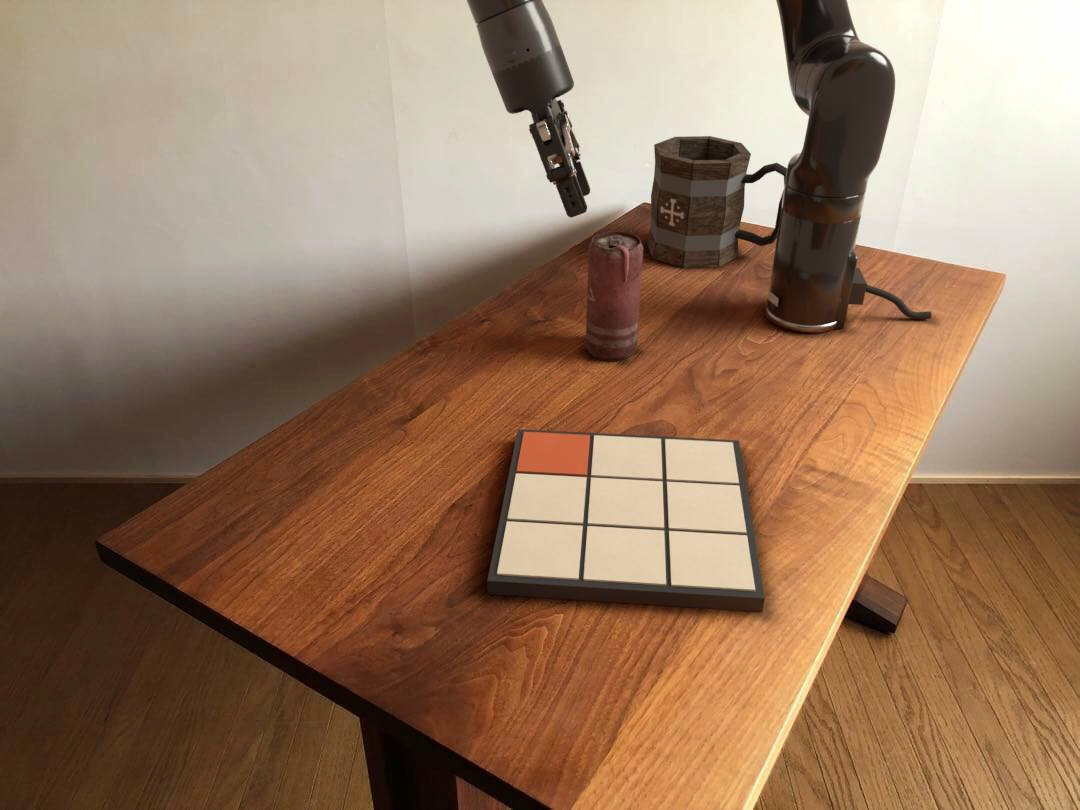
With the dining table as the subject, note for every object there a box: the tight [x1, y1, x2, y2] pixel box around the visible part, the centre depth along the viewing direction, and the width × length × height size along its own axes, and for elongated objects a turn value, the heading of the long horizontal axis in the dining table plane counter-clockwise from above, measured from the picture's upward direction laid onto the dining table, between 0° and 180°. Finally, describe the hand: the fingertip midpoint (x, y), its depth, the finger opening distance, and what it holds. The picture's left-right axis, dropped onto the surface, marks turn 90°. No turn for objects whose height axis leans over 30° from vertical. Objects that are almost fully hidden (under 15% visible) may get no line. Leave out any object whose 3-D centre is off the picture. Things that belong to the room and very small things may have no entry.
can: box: [585, 230, 644, 362], centre depth 105 cm, size 6×6×14 cm
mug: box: [646, 135, 787, 269], centre depth 130 cm, size 20×14×15 cm
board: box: [486, 428, 766, 613], centre depth 82 cm, size 22×22×2 cm
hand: (580, 204), depth 99 cm, fingers open, 8 cm apart
